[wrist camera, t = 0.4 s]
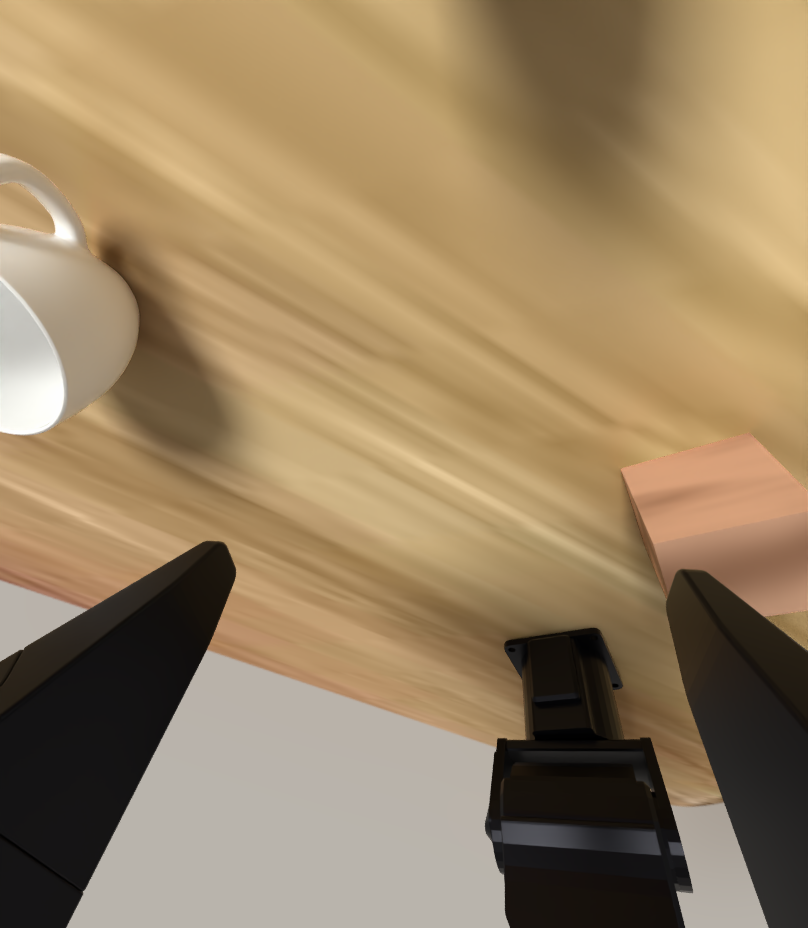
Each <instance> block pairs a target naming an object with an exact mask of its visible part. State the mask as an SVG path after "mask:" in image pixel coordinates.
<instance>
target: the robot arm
mask: <svg viewBox="0 0 808 928" xmlns="http://www.w3.org/2000/svg"><path fill="white" fill-rule="evenodd" d="M235 577H236V568H235V565H234V562H233V560H232V558H231V555H230V553H229V550H228V548H227V546H226V544H225V543H224V542H220V541H205V542H202V543H201V544H199V545H197V546H195V547H194V548H192V549H190V550H189V551H187V552H185V553H184V554H182V555H180V556H179V557H177V558H175V559H173V560H172V561H170V562H168V563H167V564H165V565H163V566H162V567H160V568H158V569H157V570H155V571H153V572H151V573H150V574H148V575H146V576H145V577H143V578H141V579H140V580H138V581H136V582H134V583H133V584H131V585H129V586H128V587H126V588H124V589H123V590H121V591H119V592H118V593H116V594H114V595H112V596H111V597H109V598H107V599H106V600H104V601H102V602H101V603H99V604H97V605H96V606H94V607H92V608H90V609H89V610H87V611H85V612H84V613H82V614H80V615H79V616H77V617H75V618H74V619H72V620H70V621H68V622H67V623H65V624H63V625H62V626H60V627H58V628H57V629H55V630H53V631H52V632H50V633H48V634H46V635H45V636H43V637H41V638H40V639H38V640H36V641H35V642H33V643H31V644H30V645H28V646H26V647H25V648H24V650H19V651H18V652H16V653H14V654H13V655H11V656H9V657H7V658H6V659H4V660H2V661H1V662H0V928H66V927H67V925H68V923H69V921H70V919H71V917H72V915H73V913H74V911H75V909H76V907H77V905H78V903H79V901H80V899H81V897H82V895H83V891H84V890H85V889H86V887H87V885H88V883H89V881H90V879H91V877H92V875H93V873H94V871H95V869H96V867H97V865H98V863H99V861H100V859H101V857H102V855H103V853H104V852H105V850H106V847H107V846H108V843H109V842H110V840H111V838H112V836H113V834H114V832H115V830H116V828H117V826H118V824H119V822H120V820H121V818H122V816H123V814H124V812H125V810H126V808H127V806H128V804H129V802H130V800H131V798H132V796H133V794H134V792H135V790H136V788H137V786H138V784H139V782H140V781H141V779H142V777H143V775H144V773H145V771H146V769H147V767H148V765H149V763H150V761H151V759H152V757H153V755H154V753H155V751H156V749H157V747H158V745H159V743H160V741H161V739H162V737H163V735H164V733H165V731H166V729H167V727H168V725H169V723H170V721H171V719H172V717H173V715H174V714H175V711H176V709H177V708H178V705H179V704H180V702H181V700H182V698H183V696H184V694H185V692H186V690H187V688H188V686H189V684H190V682H191V680H192V678H193V676H194V674H195V672H196V670H197V668H198V666H199V664H200V662H201V660H202V658H203V656H204V654H205V652H206V650H207V648H208V646H209V644H210V642H211V639H212V637H213V635H214V632H215V630H216V627H217V624H218V622H219V619H220V617H221V614H222V612H223V609H224V607H225V604H226V601H227V599H228V596H229V594H230V591H231V589H232V586H233V584H234V581H235ZM666 611H667V616H668V620H669V624H670V629H671V633H672V637H673V641H674V646H675V650H676V654H677V659H678V663H679V667H680V671H681V676H682V680H683V684H684V688H685V692H686V695H687V699H688V702H689V705H690V708H691V711H692V714H693V716H694V719H695V722H696V725H697V728H698V731H699V733H700V736H701V739H702V742H703V745H704V747H705V750H706V753H707V756H708V759H709V761H710V764H711V767H712V770H713V773H714V775H715V778H716V781H717V784H718V787H719V789H720V792H721V795H722V798H723V801H724V803H725V806H726V809H727V812H728V815H729V818H730V820H731V823H732V826H733V829H734V831H735V834H736V837H737V840H738V843H739V845H740V848H741V851H742V854H743V857H744V860H745V862H746V865H747V868H748V871H749V874H750V876H751V879H752V882H753V884H754V888H755V891H756V893H757V896H758V899H759V901H760V905H761V907H762V910H763V913H764V916H765V919H766V921H767V924H768V927H769V928H808V651H807V650H806V649H804V648H803V647H802V646H801V645H799V644H798V643H797V642H795V641H794V640H793V639H792V638H790V637H789V636H788V635H787V634H785V633H784V632H783V631H782V630H780V629H779V628H778V627H776V626H775V625H774V624H773V623H771V622H770V621H769V620H768V619H766V618H765V617H764V616H763V615H761V614H760V613H759V612H757V611H756V610H755V609H754V608H752V607H751V606H750V605H749V604H747V603H746V602H745V601H744V600H742V599H741V598H740V597H738V596H737V595H736V594H735V593H733V592H732V591H731V590H730V589H728V588H727V587H726V586H725V585H723V584H722V583H721V582H719V581H718V580H717V579H716V578H714V577H713V576H712V575H711V574H709V573H708V572H706V571H704V570H697V569H679V570H678V571H677V572H676V574H675V576H674V579H673V582H672V585H671V588H670V591H669V594H668V597H667V601H666ZM504 649H505V652H506V653H507V655H508V657H509V658H510V660H511V662H512V663H513V665H514V667H515V668H516V670H517V672H518V673H519V675H520V677H521V678H522V681H523V698H524V715H525V732H526V740H507V739H506V738H498V739H497V749H496V752H495V753H494V763H493V773H492V782H491V793H490V803H489V809H488V813H487V817H486V821H485V831H486V834H487V835H488V837H489V838H490V840H491V841H492V843H493V848H494V854H495V859H496V862H497V866H498V869H499V871H500V873H502V874H504V880H505V914H506V918H507V920H508V923H509V926H510V928H685V925H684V921H683V917H682V913H681V909H680V905H679V901H678V897H677V893H676V891H680V892H686V893H693V889H692V884H691V879H690V875H689V871H688V867H687V863H686V860H685V855H684V851H683V848H682V844H681V840H680V836H679V833H678V829H677V826H676V822H675V819H674V815H673V811H672V808H671V805H670V801H669V798H668V795H667V791H666V788H665V785H664V782H663V778H662V775H661V772H660V768H659V765H658V762H657V758H656V755H655V752H654V748H653V745H652V742H651V738H640V739H631V740H625V739H624V735H623V731H622V726H621V722H620V718H619V714H618V709H617V705H616V701H615V696H614V692H613V690H617V689H620V688H622V687H623V685H622V681H621V678H620V676H619V673H618V671H617V669H616V666H615V664H614V661H613V659H612V657H611V654H610V652H609V650H608V647H607V645H606V643H605V640H604V638H603V636H602V633H601V631H600V630H599V629H596V628H588V629H582V630H575V631H568V632H562V633H555V634H549V635H542V636H536V637H529V638H522V639H516V640H509V641H506V642H505V644H504ZM650 789H651V791H652V792H651V791H650Z"/></svg>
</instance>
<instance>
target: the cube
mask: <svg viewBox="0 0 808 928" xmlns="http://www.w3.org/2000/svg"><path fill="white" fill-rule="evenodd" d="M621 472H622V475H623V478H624V481H625V485H626V488H627V491H628V494H629V497H630V501H631V504H632V507H633V510H634V513H635V517H636V520H637V523H638V526H639V529H640V532H641V536H642V539H643V542H644V545H645V548H646V550H647V553H648V555H649V557H650V560H651V562H652V565H653V567H654V570H655V572H656V574H657V577H658V579H659V582H660V584H661V587H662V589H663V592H664V594H665V596H666V599H667V597H668V594H669V591H670V588H671V585H672V582H673V579H674V576H675V574H676V572H677V571H678V570H679V569H697V570H704V571H706V572H708V573H709V574H711V575H712V576H713V577H714V578H716V579H717V580H718V581H719V582H721V583H722V584H723V585H725V586H726V587H727V588H728V589H730V590H731V591H732V592H733V593H735V594H736V595H737V596H738V597H740V598H741V599H742V600H744V601H745V602H746V603H747V604H749V605H750V606H751V607H752V608H754V609H755V610H756V611H757V612H759V613H760V614H761V615H763V616H764V617H766V616H773V615H780V614H787V613H794V612H801V611H808V491H807V490H806V489H805V488H804V487H803V486H802V485H801V484H800V483H799V482H798V481H797V480H796V479H795V478H794V477H793V476H792V475H791V474H790V473H789V472H788V471H787V470H786V469H785V468H784V467H783V466H782V465H781V464H780V463H779V462H778V461H777V460H776V459H775V458H774V457H773V456H772V455H771V454H770V453H769V452H768V451H767V450H766V449H765V448H764V447H763V446H762V445H761V444H760V443H759V442H758V441H757V440H756V439H755V438H754V437H753V436H752V435H751V434H750V433H746V434H742V435H739V436H735V437H732V438H728V439H724V440H721V441H717V442H714V443H710V444H707V445H703V446H699V447H696V448H692V449H689V450H685V451H682V452H678V453H674V454H671V455H667V456H664V457H660V458H657V459H653V460H649V461H646V462H642V463H639V464H635V465H632V466H628V467H624V468H621Z"/></svg>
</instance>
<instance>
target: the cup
mask: <svg viewBox="0 0 808 928" xmlns="http://www.w3.org/2000/svg"><path fill="white" fill-rule="evenodd" d="M8 183H17V184H19V185H20V186H22V187H23V188H25V189H26V190H27V191H28V192H30V193H31V194H32V195H33V196H34V197H35V198H36V199H37V200H38V201H39V202H40V203H41V204H42V205H43V206H44V207H45V208H46V210H47V211H48V212H49V213H50V215H51V216H52V218H53V221H54V224H55V233H54V234H49V233H45V232H41V231H37V230H33V229H29V228H25V227H20V226H14V225H9V224H2V223H0V432H3V433H8V434H14V435H35V434H40V433H43V432H46V431H48V430H50V429H52V428H53V427H55V426H57V425H59V424H60V423H62V422H64V421H66V420H67V419H69V418H71V417H73V416H74V415H76V414H78V413H79V412H81V411H82V410H84V409H85V408H87V407H88V406H90V405H91V404H93V403H94V402H95V401H97V400H98V399H99V398H100V397H102V396H103V395H104V394H105V393H106V392H107V391H108V390H109V389H110V388H111V387H112V386H113V385H114V384H115V383H116V382H117V380H118V379H119V378H120V377H121V375H122V374H123V372H124V371H125V369H126V367H127V366H128V364H129V362H130V360H131V358H132V355H133V353H134V350H135V347H136V344H137V339H138V333H139V321H140V315H139V308H138V304H137V301H136V299H135V296H134V294H133V292H132V291H131V289H130V287H129V286H128V284H127V283H126V282H125V280H124V279H123V278H122V277H121V276H120V275H119V274H118V273H117V272H116V271H115V270H114V269H113V268H112V267H110V266H109V265H107V264H106V263H105V262H103V261H102V260H100V259H99V258H97V257H96V256H95V255H93V254H92V253H91V251H90V250H89V248H88V245H87V239H86V234H85V230H84V226H83V224H82V221H81V219H80V217H79V215H78V214H77V212H76V210H75V209H74V207H73V206H72V204H71V203H70V202H69V200H68V199H67V198H66V196H65V195H64V194H63V193H62V191H61V190H60V189H59V188H58V187H57V186H56V185H55V184H54V183H53V182H52V181H51V180H50V179H49V178H48V177H47V176H46V175H44V174H43V173H42V172H41V171H39V170H38V169H37V168H35V167H34V166H32V165H30V164H28V163H26V162H24V161H22V160H20V159H18V158H15V157H12V156H10V155H7V154H3V153H0V185H4V184H8Z"/></svg>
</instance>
